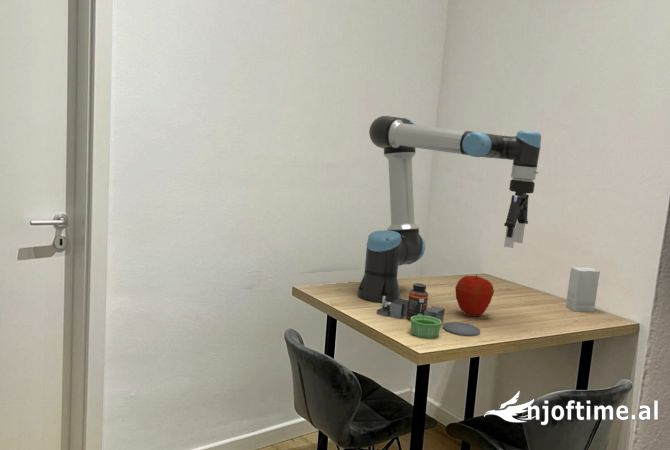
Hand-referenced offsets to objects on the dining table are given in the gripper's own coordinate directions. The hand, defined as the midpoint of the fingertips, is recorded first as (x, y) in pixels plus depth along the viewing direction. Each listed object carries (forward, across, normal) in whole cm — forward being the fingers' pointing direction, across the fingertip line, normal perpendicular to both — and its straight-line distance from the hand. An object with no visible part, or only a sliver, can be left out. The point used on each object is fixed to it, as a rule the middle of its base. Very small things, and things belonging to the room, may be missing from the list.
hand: (513, 244), depth 192 cm
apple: (+26, -3, +10) cm, 28 cm away
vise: (+26, -22, +24) cm, 41 cm away
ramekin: (+26, -34, +15) cm, 45 cm away
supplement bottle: (+26, -22, +22) cm, 40 cm away
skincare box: (+25, +36, -20) cm, 48 cm away
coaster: (+25, -22, +7) cm, 34 cm away
